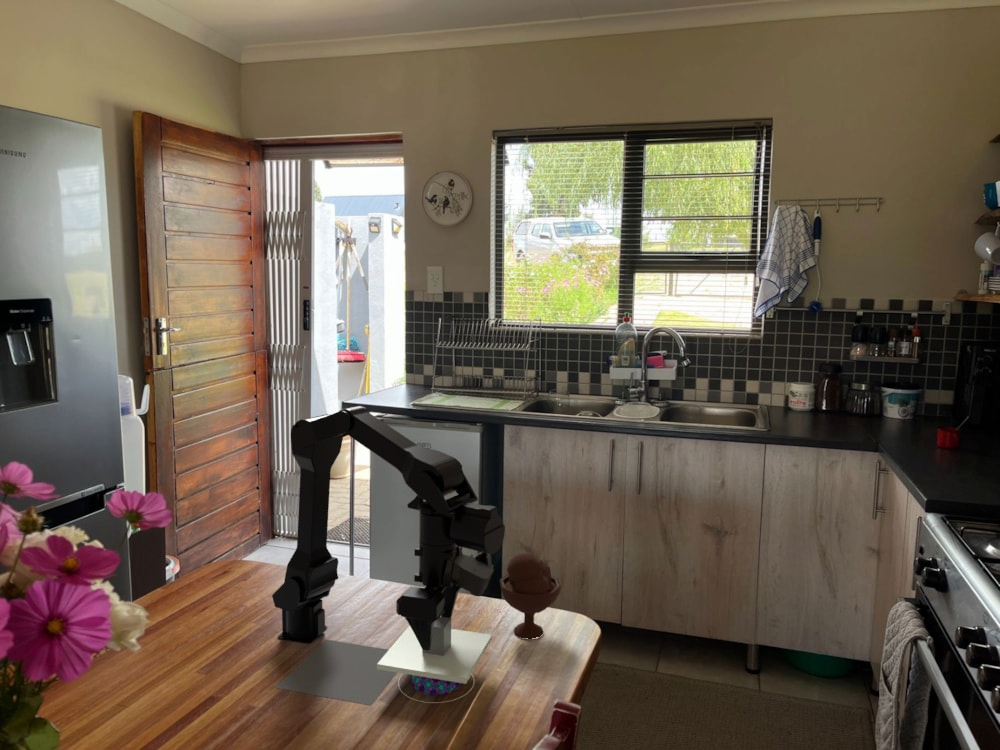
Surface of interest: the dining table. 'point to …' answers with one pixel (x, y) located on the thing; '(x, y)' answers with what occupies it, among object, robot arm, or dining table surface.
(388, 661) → the lid
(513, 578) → the ice cream bowl
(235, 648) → the dining table surface
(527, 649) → the dining table surface
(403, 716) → the dining table surface
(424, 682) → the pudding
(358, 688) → the mat
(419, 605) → the robot arm
